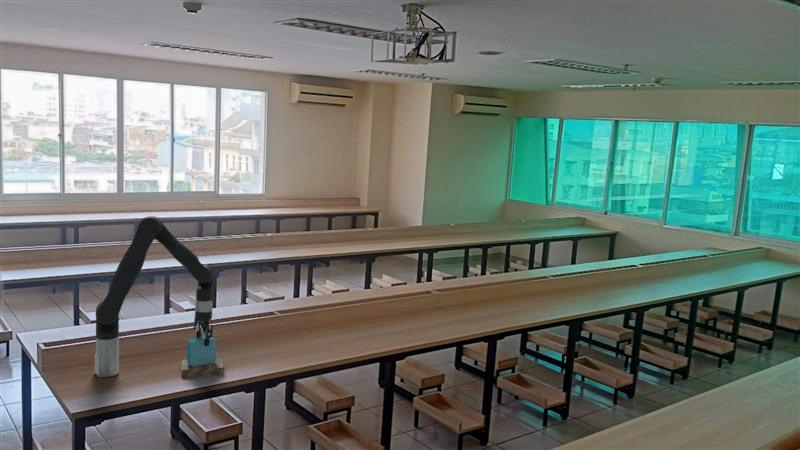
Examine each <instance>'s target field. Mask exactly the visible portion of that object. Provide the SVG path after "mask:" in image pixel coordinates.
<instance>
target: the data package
mask: <svg viewBox="0 0 800 450" xmlns="http://www.w3.org/2000/svg"><path fill="white" fill-rule="evenodd" d="M204 338H205V337H204V336H201V337H200V338H196V337H195V338H190V339H188V341H187V357H186V360H187V362H188V363H189V364H190V365H191V366H192V367H195V366H201V365H206V364H212V363H214V362H215V361H216V359H217V339H216V338H214V337H213V336H212V338H210V342H209V346H204Z"/></svg>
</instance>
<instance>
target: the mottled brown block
mask: <svg viewBox="0 0 800 450" xmlns="http://www.w3.org/2000/svg"><path fill="white" fill-rule="evenodd" d="M223 375H224V364H223V358H221V357H219V358H216V361H215V362H214V363H212V364H206V365H201V366H195V367H192V366H191V365H190V364H189V363H188V362H187V359H182V361H181V378H186V377H188V378H189V377H208V376H209V377H210V376H223Z"/></svg>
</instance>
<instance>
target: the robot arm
mask: <svg viewBox="0 0 800 450" xmlns="http://www.w3.org/2000/svg"><path fill="white" fill-rule="evenodd" d="M154 240H156V241H157V242H158V243H160V244H161V245H162V246H164V248H165V249H167V251H168V252H169V254H171V256H172V257H173V258H174V259H175V260H176V261H177V262H178V263H180V264H181V265H182V266H183V268H185V269H187V271H188V272H189V273H190V274H191V276H192V277H193V278H194V279H195V281H197V287H196V291H195V296H196V297H195V304H194V306H195V307H194V319H193V321H194V322H193V331H195V333H196V334H195V335H196V336H195V338H200V337H202V335H203V337H205V338H204V346H209V342H210V338H212V337H213V324H210V321H211V320H212V319H213V286H214V285H213V284H214V277H215V276H214V275H215V273H214V272H215V271H214V269H213V267H212V266H211V265H208V264H205V265H204V264H203V263H201V262H200V259H199V257H198V256H197V255H196V254H195V253H194V252H193V251H192V250H190V249H189V248H188V247H187V246H186V245H184V244H183V243H182V242H181V241H180V240H179V239H177V238H176V237H175V236H174V234H172V233H171V231H170V230H169V229H168V228H167V227H166V226H165V224H164V223H163V221H162V220H161V219H160V218H159V217H157V216H154V215H149V216H146V217H144V218H142V219H141V220H140V221H139V223H138V225H137V228H136V232H135V234H134V237H133V239H132V241H131V244H130V245H129V247H128V248H127V249H126V251H125V253H124V254H123V257H122V259H121V260H120V262H119V264H118V266H117V268H116V270H115V272H114V275H113V278H112V281H111V284H110V287H109V290H108V292H107V294H106V296H105V298H104V299H103V300H102V301H100V302H99V303H98V305H97V306H96V308H95V352H94V374H95V375H96V376H97V378H110V377H114V376H116V375H118V374H119V373H120V372H119V371H120V369H119V368H120V367H119V366H120V364H119V361H120V360H119V359H120V358H119V356H120V354H119V352H120V351H119V350H120V349H119V347H120V345H119V343H120V342H119V341H120V337H119V335H120V331H119V330H120V323H119V322H120V321H119V319H120V318H119V317H120V315H119V314H120V312H121V310H122V307H123V304H124V303H125V300H126V297H127V295H128V294H129V293H130V291H131V289H132V288H133V286H134V284H135V282H136V281H137V279H138V277H139V274H140V272H141V271H142V268H143V266H144V263H145V260H146V257H147V256H146V255H147V253H148V250H149V248H150V247H151V245H152V244H153V242H154Z"/></svg>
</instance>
